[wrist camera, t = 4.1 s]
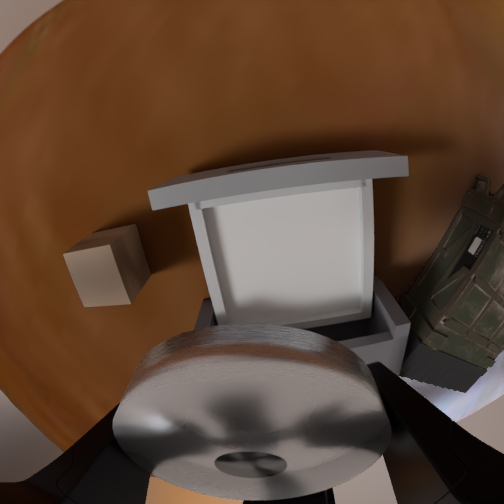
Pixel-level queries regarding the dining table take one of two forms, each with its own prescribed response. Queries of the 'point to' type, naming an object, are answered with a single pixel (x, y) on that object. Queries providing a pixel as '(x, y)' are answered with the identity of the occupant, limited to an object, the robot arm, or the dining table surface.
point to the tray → (286, 235)
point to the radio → (460, 297)
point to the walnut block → (108, 266)
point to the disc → (252, 412)
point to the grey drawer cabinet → (357, 329)
